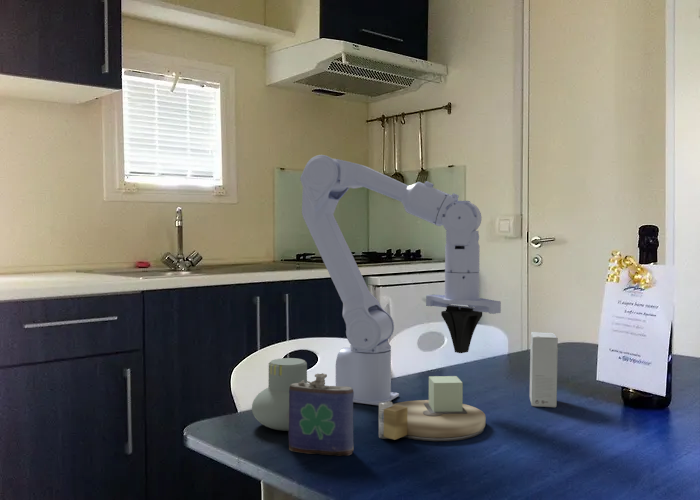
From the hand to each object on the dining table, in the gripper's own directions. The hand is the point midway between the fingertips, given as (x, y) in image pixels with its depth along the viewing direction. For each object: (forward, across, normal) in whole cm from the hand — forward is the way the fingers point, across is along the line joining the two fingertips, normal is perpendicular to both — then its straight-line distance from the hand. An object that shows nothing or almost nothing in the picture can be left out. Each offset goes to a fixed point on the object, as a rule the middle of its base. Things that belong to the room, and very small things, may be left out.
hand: (461, 352), depth 113 cm
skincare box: (+10, +8, +13) cm, 18 cm away
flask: (+10, +2, -32) cm, 33 cm away
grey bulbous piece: (+10, -11, -28) cm, 32 cm away
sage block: (+7, +3, -8) cm, 11 cm away
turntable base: (+9, +4, -11) cm, 15 cm away
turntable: (+9, +4, -11) cm, 15 cm away
